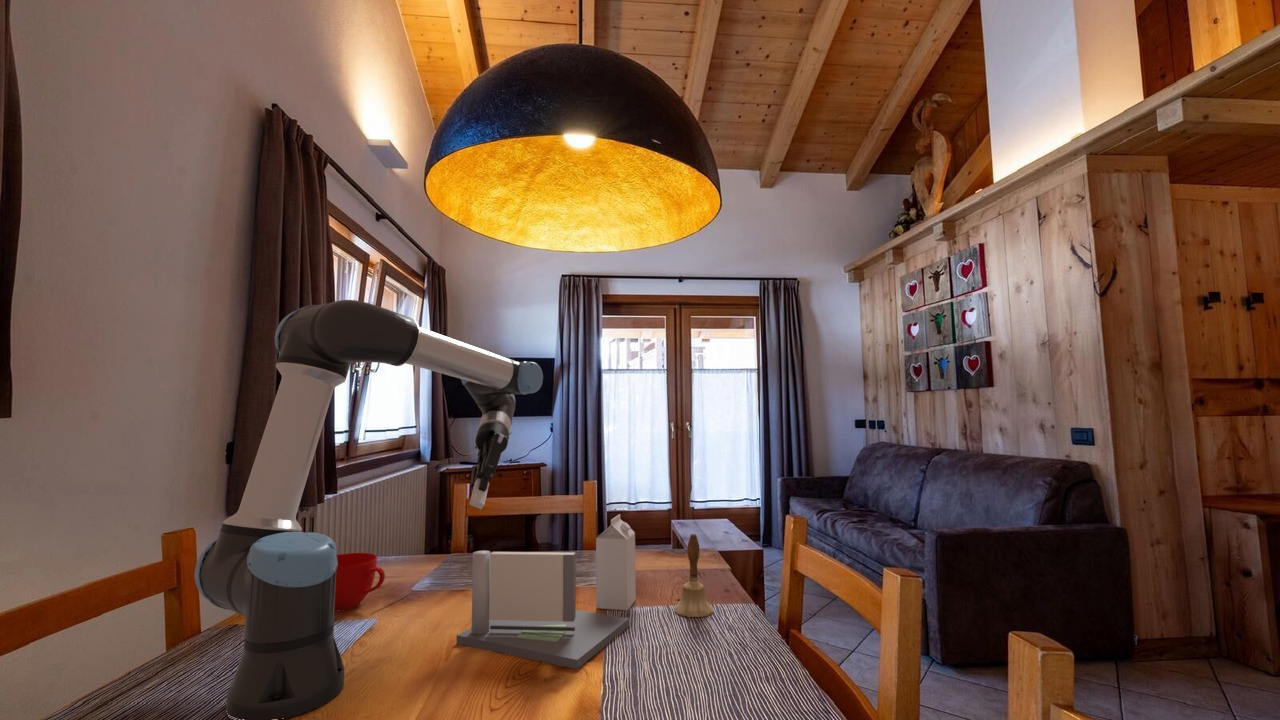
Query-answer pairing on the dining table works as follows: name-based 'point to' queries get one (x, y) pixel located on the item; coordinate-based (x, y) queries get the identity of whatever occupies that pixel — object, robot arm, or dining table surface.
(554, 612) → the hinged door panel
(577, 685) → the dining table surface
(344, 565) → the ceramic cup
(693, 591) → the hand bell
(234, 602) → the robot arm
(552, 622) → the grey flat slab
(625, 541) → the milk carton
